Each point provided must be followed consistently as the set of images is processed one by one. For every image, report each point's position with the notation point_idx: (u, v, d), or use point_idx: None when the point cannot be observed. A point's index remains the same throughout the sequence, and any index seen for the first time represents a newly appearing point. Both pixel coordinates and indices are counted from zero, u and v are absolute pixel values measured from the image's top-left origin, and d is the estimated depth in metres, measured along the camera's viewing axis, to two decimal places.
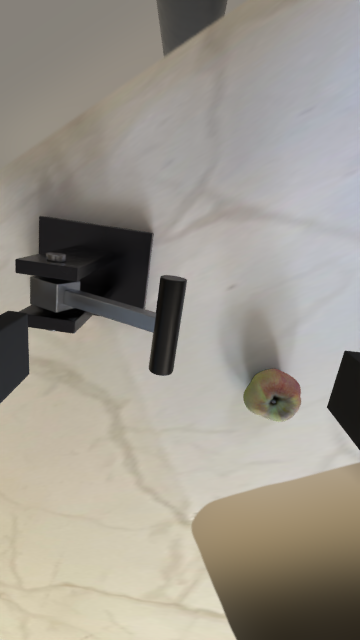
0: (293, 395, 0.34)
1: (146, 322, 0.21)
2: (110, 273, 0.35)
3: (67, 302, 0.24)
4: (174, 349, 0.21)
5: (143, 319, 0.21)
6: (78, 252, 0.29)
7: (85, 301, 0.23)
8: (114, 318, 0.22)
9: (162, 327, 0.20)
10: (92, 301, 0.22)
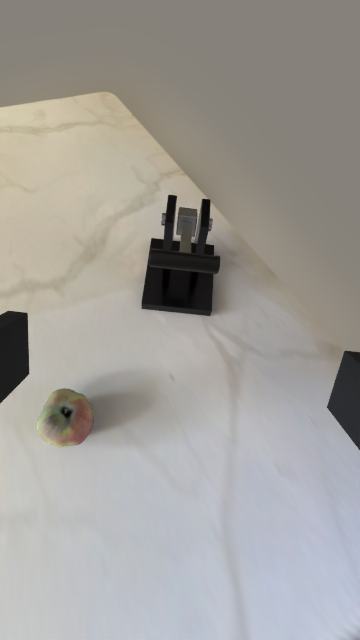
0: (73, 429, 0.32)
1: (185, 250, 0.30)
2: (179, 283, 0.46)
3: (184, 223, 0.36)
4: (169, 262, 0.29)
5: (187, 249, 0.31)
6: None
7: (188, 229, 0.35)
8: (182, 238, 0.32)
9: (187, 254, 0.29)
10: (189, 232, 0.34)
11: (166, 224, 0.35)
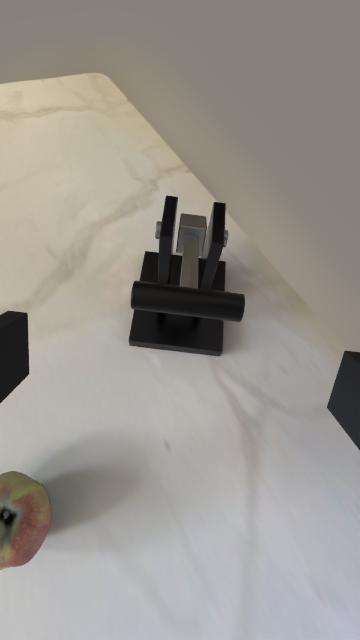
0: (13, 548, 0.21)
1: (189, 282, 0.19)
2: None
3: (188, 236, 0.25)
4: (163, 305, 0.18)
5: (192, 281, 0.20)
6: None
7: (193, 246, 0.24)
8: (184, 262, 0.21)
9: (191, 290, 0.18)
10: (196, 251, 0.23)
11: (161, 238, 0.24)
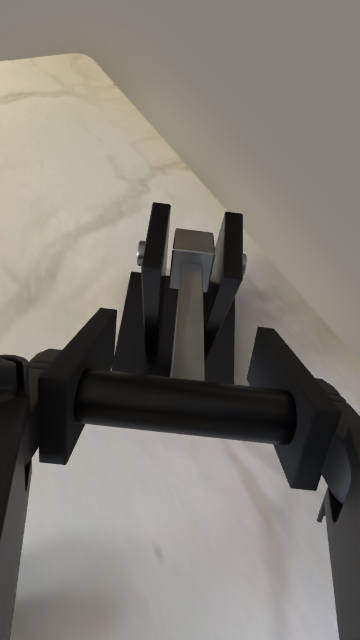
0: None
1: (189, 365, 0.11)
2: None
3: (186, 266, 0.16)
4: (137, 422, 0.09)
5: (193, 360, 0.11)
6: None
7: (195, 284, 0.15)
8: (180, 317, 0.13)
9: (193, 392, 0.09)
10: (199, 292, 0.14)
11: (145, 270, 0.15)
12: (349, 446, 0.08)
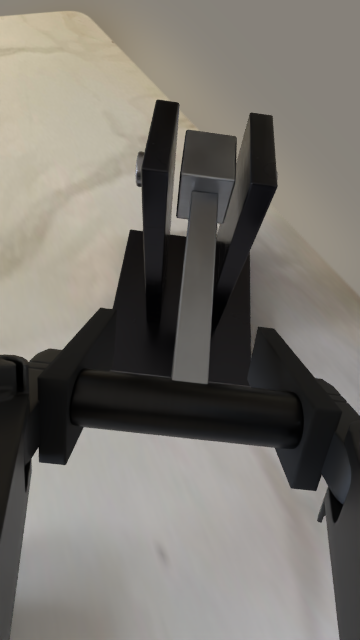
0: None
1: (192, 362, 0.10)
2: None
3: (198, 197, 0.13)
4: (136, 431, 0.09)
5: (197, 355, 0.10)
6: None
7: (207, 231, 0.12)
8: (185, 288, 0.11)
9: (194, 406, 0.09)
10: (211, 245, 0.12)
11: (146, 175, 0.11)
12: (349, 446, 0.08)
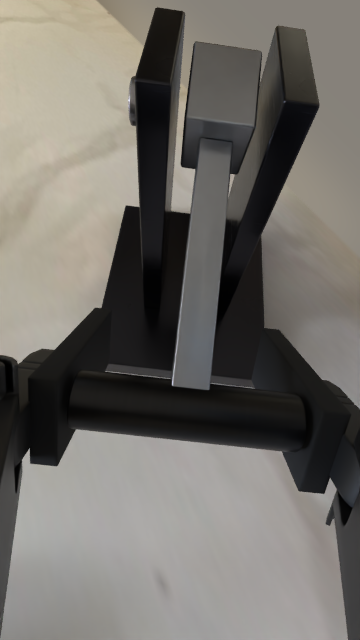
0: None
1: (193, 365, 0.09)
2: None
3: (207, 148, 0.10)
4: None
5: (199, 358, 0.09)
6: None
7: (216, 198, 0.10)
8: (188, 277, 0.09)
9: (193, 418, 0.08)
10: (220, 218, 0.10)
11: (141, 91, 0.08)
12: (359, 449, 0.07)
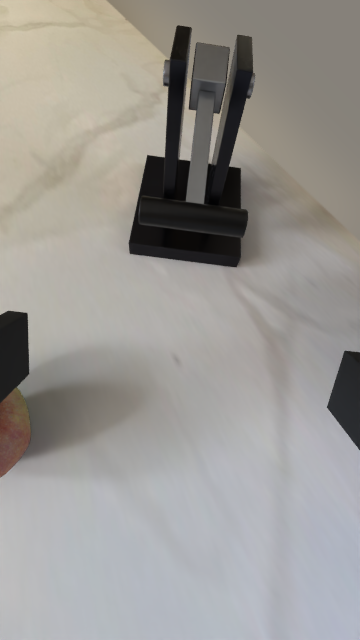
0: None
1: (196, 193, 0.19)
2: None
3: (202, 95, 0.20)
4: (169, 225, 0.19)
5: (199, 190, 0.19)
6: None
7: (207, 119, 0.20)
8: (193, 154, 0.20)
9: (196, 212, 0.19)
10: (209, 128, 0.20)
11: (172, 64, 0.19)
12: None
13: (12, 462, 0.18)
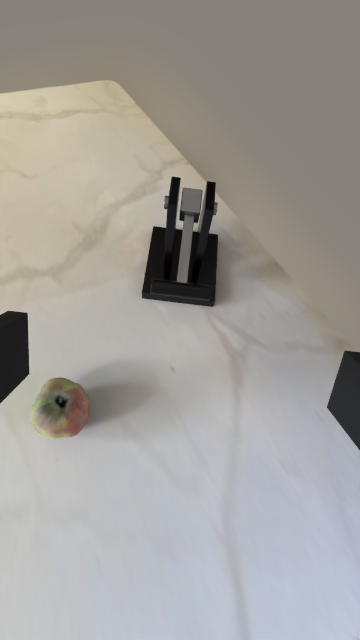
0: (67, 419, 0.31)
1: (182, 277, 0.34)
2: None
3: (186, 217, 0.35)
4: (167, 295, 0.34)
5: (184, 275, 0.34)
6: None
7: (189, 232, 0.35)
8: (181, 254, 0.34)
9: (182, 288, 0.34)
10: (190, 237, 0.35)
11: (169, 206, 0.34)
12: None
13: (82, 426, 0.33)
